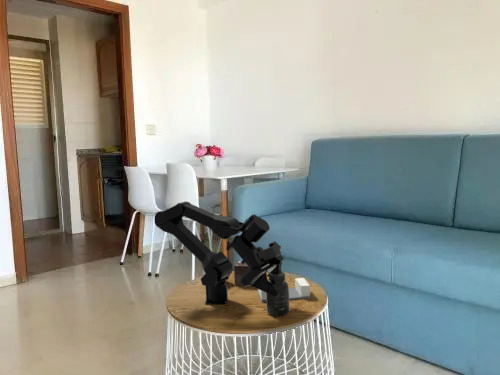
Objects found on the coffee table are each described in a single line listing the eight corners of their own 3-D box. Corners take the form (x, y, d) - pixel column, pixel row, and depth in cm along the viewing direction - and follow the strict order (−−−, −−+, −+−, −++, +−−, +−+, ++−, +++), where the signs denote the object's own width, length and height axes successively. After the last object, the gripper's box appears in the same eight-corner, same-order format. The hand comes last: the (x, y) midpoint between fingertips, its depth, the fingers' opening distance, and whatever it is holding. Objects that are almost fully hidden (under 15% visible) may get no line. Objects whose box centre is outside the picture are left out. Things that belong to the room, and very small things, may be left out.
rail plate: (261, 302, 135) (261, 289, 134) (257, 292, 144) (257, 280, 143) (310, 298, 137) (310, 286, 136) (303, 288, 146) (303, 277, 145)
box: (250, 286, 150) (250, 266, 150) (234, 285, 152) (233, 265, 151) (254, 280, 156) (253, 261, 155) (238, 280, 157) (237, 261, 157)
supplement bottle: (263, 309, 129) (262, 271, 127) (284, 306, 131) (283, 268, 129) (271, 318, 122) (270, 278, 121) (293, 314, 124) (292, 275, 123)
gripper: (248, 242, 118) (285, 285, 113) (277, 229, 134) (310, 266, 130) (226, 266, 123) (260, 308, 118) (256, 250, 139) (288, 287, 134)
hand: (281, 291), depth 125 cm, fingers closed on supplement bottle, 7 cm apart
